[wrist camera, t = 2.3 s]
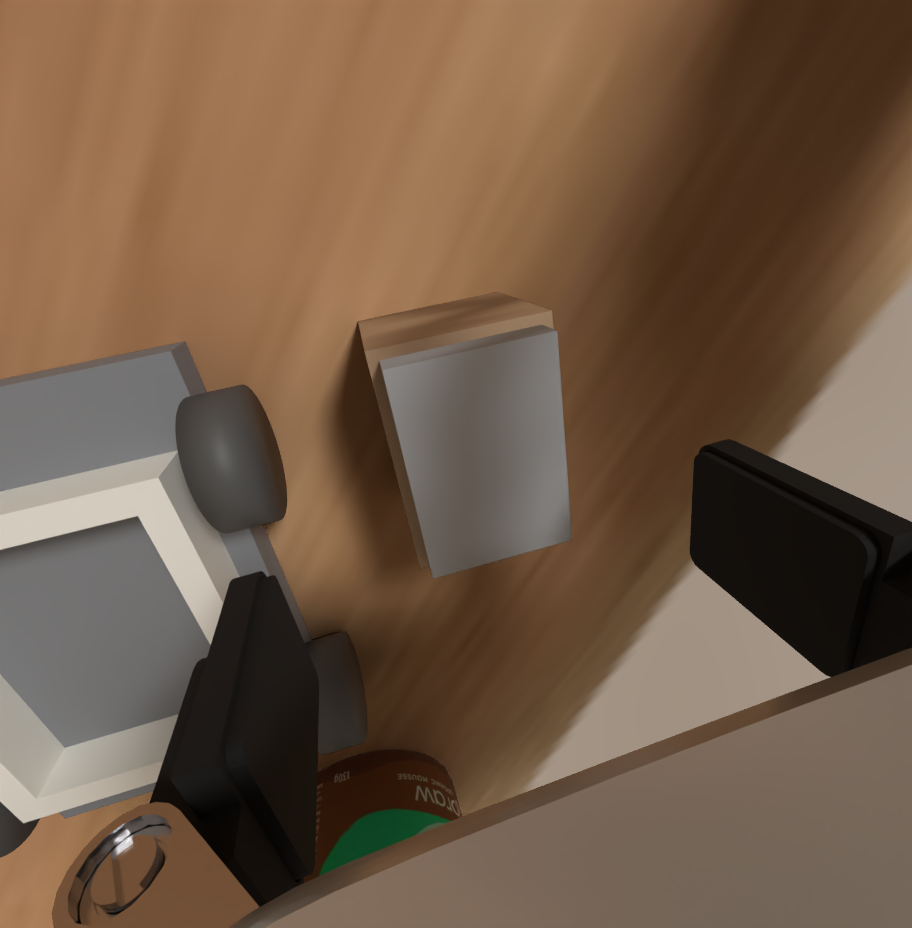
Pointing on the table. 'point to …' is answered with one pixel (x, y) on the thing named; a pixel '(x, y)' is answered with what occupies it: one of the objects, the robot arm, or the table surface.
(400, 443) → the grey block on wood
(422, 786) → the food container
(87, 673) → the chassis
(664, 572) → the table surface
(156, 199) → the table surface
